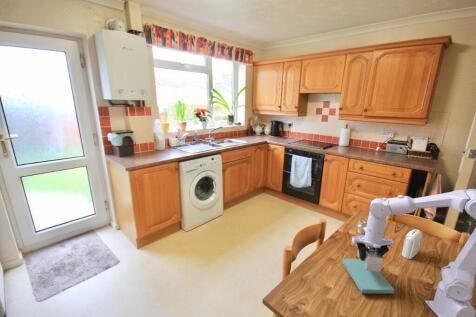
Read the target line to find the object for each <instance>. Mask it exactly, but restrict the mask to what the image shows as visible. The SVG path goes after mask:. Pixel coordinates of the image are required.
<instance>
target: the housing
mask: <svg viewBox="0 0 476 317" xmlns="http://www.w3.org/2000/svg"><path fill="white" fill-rule="evenodd" d="M365 245H366V248H367V249H368V250H367V251H366V253H365V257H364V261H361V259H360V258H359V249H358V248H357V253H356V255H357V257H358V259H360V261H361V262H362V264H363V266H364V267H365V269H366V270H367V271H377V272H380V273H381V271H382V265H383V261H384V257H383V256H381V255H380V253H379V252H378V251H377V249H376V247H374V246H372V245H368V244H365Z"/></svg>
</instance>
